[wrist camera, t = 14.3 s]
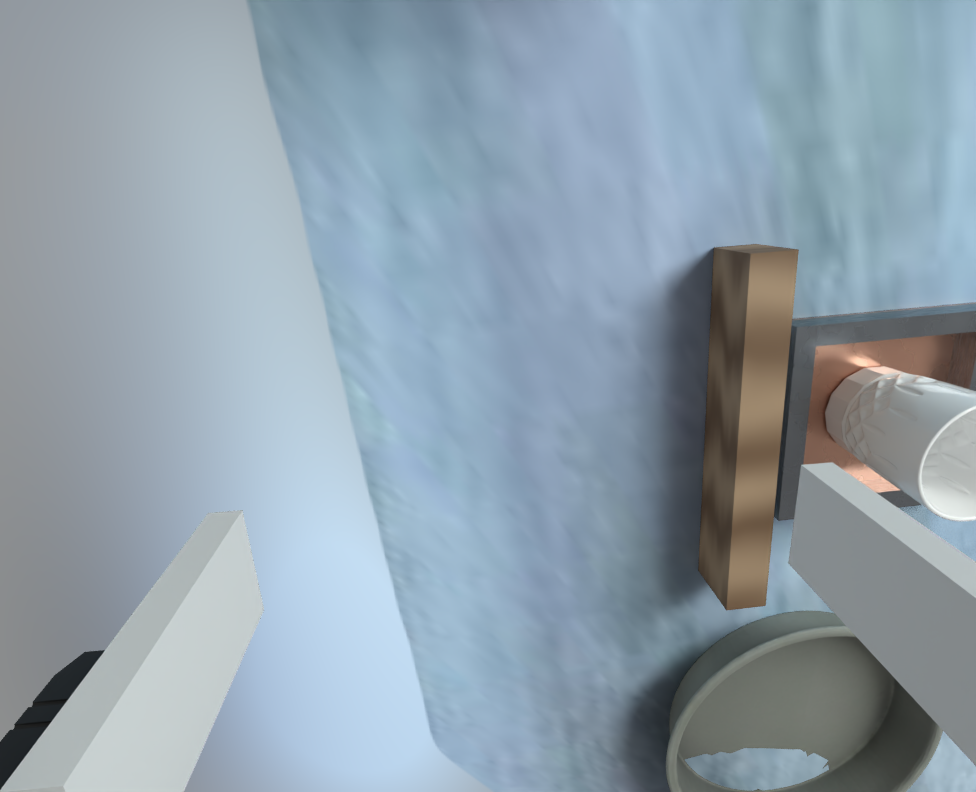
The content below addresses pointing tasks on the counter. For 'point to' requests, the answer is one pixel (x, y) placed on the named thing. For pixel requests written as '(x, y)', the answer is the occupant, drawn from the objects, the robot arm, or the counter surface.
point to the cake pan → (800, 707)
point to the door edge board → (744, 417)
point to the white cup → (911, 435)
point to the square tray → (844, 351)
